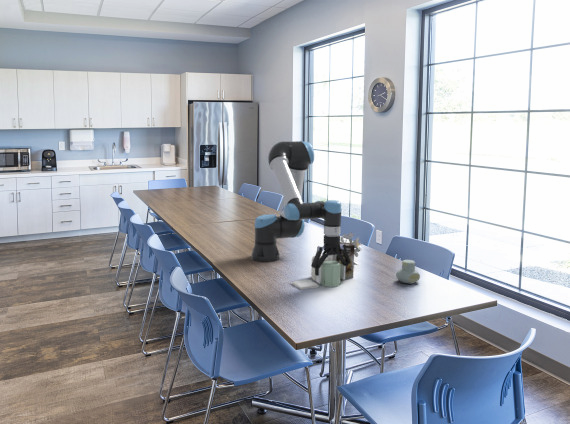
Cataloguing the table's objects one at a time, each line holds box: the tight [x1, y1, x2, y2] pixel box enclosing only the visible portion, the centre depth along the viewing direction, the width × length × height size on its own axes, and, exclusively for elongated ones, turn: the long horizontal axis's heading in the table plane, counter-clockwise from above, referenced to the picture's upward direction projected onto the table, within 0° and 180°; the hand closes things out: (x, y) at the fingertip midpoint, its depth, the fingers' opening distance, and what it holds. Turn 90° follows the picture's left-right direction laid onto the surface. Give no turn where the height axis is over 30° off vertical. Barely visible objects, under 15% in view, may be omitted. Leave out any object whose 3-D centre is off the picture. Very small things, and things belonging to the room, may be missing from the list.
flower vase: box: [328, 232, 363, 265], centre depth 267 cm, size 13×18×25 cm
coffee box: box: [332, 242, 356, 280], centre depth 250 cm, size 9×6×16 cm
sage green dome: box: [320, 260, 341, 288], centre depth 239 cm, size 8×8×10 cm
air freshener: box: [395, 259, 421, 285], centre depth 243 cm, size 11×8×10 cm
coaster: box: [291, 279, 319, 291], centre depth 237 cm, size 9×9×1 cm
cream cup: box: [310, 255, 330, 281], centre depth 247 cm, size 8×8×10 cm
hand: (330, 280), depth 239 cm, fingers open, 12 cm apart
